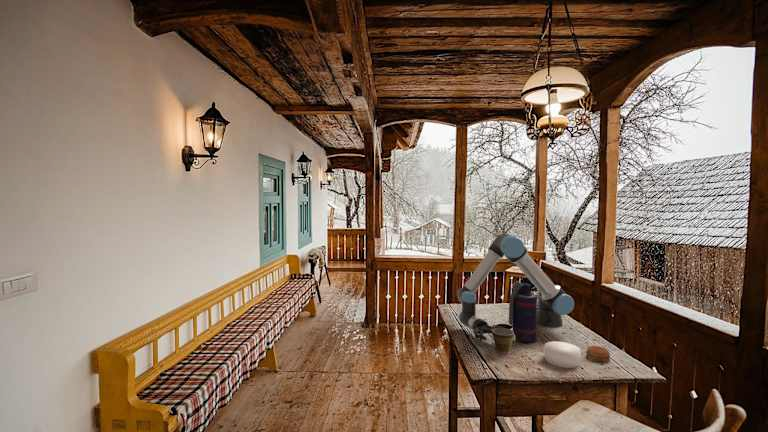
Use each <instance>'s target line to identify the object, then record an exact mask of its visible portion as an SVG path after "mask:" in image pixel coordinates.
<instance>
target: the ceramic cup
mask: <svg viewBox="0 0 768 432" xmlns="http://www.w3.org/2000/svg"><path fill="white" fill-rule="evenodd" d="M506 328H507V327H503V328H495V329H492V330H491V329H490V330H488V333H487V334H488V336H489V337H490V338H491V339H492V341H493V342H494V348H495V352H496V353H498V354H500V355H509V354H510V353H511V350H512V346H513V341H514V340H513V336H514V332H513V329H510V328H507V329H506ZM489 331H491V332H492V333H493V334H492V333H489Z"/></svg>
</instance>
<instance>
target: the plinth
mask: <svg viewBox="0 0 768 432" xmlns="http://www.w3.org/2000/svg"><path fill="white" fill-rule="evenodd" d="M581 353H582V351H581V348H580V347H578V346H577V345H575V344H572V343H570V342H564V341H548V342H546V343H545V344H544V361H546V363H548V364H551V365H552V366H555V367H560V368H562V369H563V368H564V369H575V368H579V367H580V366H581V364H582V363H581V361H582V358H581V357H582V354H581Z"/></svg>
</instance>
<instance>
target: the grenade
mask: <svg viewBox="0 0 768 432" xmlns="http://www.w3.org/2000/svg"><path fill="white" fill-rule="evenodd" d="M532 289H533V284H530V283H528V282H524V281H522V282H516V283H515V285H514V286H513V290H512V291H511V293H510V295H509V298H508V299H509V303H508V307H509V308H508V324H509V325H510V326H511V327H512V331H513V332H514V335H515V340H517V342H518V343H522V344H523V343H524V342H527V343H530V342H531V343H536V340H537V327H538V326H537V325H538V324H537V311H538V295H537V294H535V293H532Z"/></svg>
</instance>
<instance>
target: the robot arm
mask: <svg viewBox="0 0 768 432" xmlns="http://www.w3.org/2000/svg"><path fill="white" fill-rule="evenodd" d="M528 251H529V250H528V248H527V247H526V246H525V244H524V241H523V240H522V239H521V238H520V237H518V236H516V235H512V234H509V233H502V234H499V235H497V236H496V237H495V238H494V240H493V241H492V243H491V244H490V246H488V248H487V252H486V254H485V255H484V257H483V258H482V260H481V261H480V262H479V264H478V265H477V267H476V268H475V270H474V271H473V273H472V274H471V275H470V277H469V278H468V280H467V281H466V282H465V284H464V285H463V286H462V288H459V289H458V290H457V292H456V297H457V299H458V301H459V302H460V303H461V312H459V315H458V320H459V322H460V324H462V326H465V327H467V328H469V329H471V330H472V333H473V334H474V338H475V340H479V341H481V342H482V341H484V342H486V343H488V345H492V341H493V339H492V337H491V336H489V335H486V334H488V330H490V329H491V330H493V329H495V328H504V327H502V326H499V325H496V324H493V325H489V324H488V322H487V321H485V320H484V319H482V318H480V317H479V316H476V307H477V306H476V302H477V295H476V292H477V291H478V289H479V288H480V287H481V285H482V284H483V282H484V281H485V280H486V278H487V277H488V276H489V274H490V273H491V271H492V270H493V269H494V267H495V265H496V264H497V263H498V262H499V260H500V259H503V258H504V257H505V258H506V259H507V260H508V261H509V262H510V263H511V264H515V265H516V266H517V267H518V269H519V270H520V271H521V272H522V273H523V274H524V276H526V278H527V279H528V280H529V282H531V283H532V285H534V287H535V288H536V289H537V293H538V295H537V325H540V326H542V327H549V328H558V327H562V326H563V319H562V316H565V315H569V314H570V313H571V312H572V311H573V309H574V308H575V301H574V299H573V297H572V296H571V295H569V294H567V293H566V292H565V290H564V289H562V288H561V286H560V285H559V284H554V282H553V281H552V280H551V279H550V277H549V276H548V275H547V274H546V272H544V270H543V269H541V268H540V266H539V265H538V264H537V263H536V262H535V260H534V259H533V258H532V256H530V255H529V254H528ZM505 328H506V329H508V328H507V327H505ZM489 334H491V335H493V333H492V332H491V331H489ZM513 341H516V339H515V335H514V336H513Z"/></svg>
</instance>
